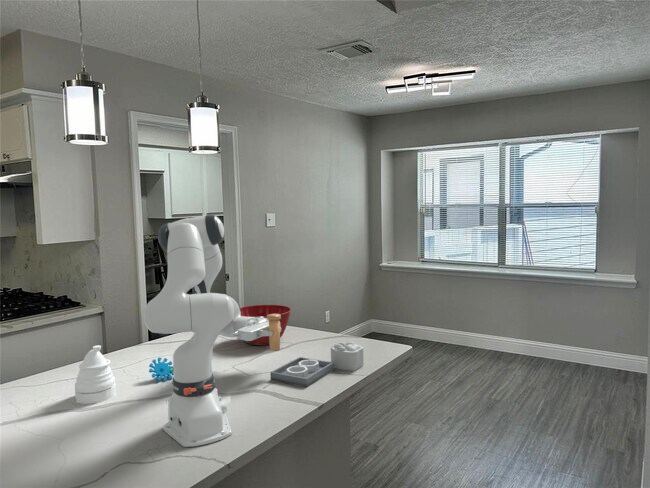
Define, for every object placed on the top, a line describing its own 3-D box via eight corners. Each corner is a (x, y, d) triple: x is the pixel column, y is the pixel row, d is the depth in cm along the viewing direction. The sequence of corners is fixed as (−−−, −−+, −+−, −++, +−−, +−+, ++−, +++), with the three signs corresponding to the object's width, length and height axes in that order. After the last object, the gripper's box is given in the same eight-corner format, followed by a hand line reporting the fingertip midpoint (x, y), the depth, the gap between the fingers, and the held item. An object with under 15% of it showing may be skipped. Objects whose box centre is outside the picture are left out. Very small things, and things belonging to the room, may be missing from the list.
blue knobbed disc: (152, 381, 176) (147, 357, 182) (147, 389, 179) (142, 366, 185) (181, 377, 184) (175, 355, 189) (175, 385, 187) (169, 363, 192)
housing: (270, 380, 179) (270, 370, 178) (299, 364, 196) (299, 355, 196) (307, 387, 171) (306, 377, 170) (334, 369, 188) (333, 361, 188)
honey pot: (124, 392, 171) (121, 342, 169) (93, 406, 159) (89, 353, 157) (98, 387, 176) (95, 339, 175) (67, 400, 164) (63, 349, 163)
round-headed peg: (284, 350, 183) (282, 315, 182) (271, 352, 180) (270, 317, 179) (278, 346, 187) (277, 313, 186) (266, 349, 185) (264, 314, 184)
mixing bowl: (238, 334, 245) (237, 304, 244) (294, 332, 245) (293, 303, 243) (226, 350, 217) (225, 317, 215) (289, 349, 216) (288, 315, 215)
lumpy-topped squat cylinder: (354, 371, 186) (353, 349, 185) (325, 366, 192) (325, 345, 192) (366, 363, 194) (365, 342, 194) (338, 359, 201) (338, 338, 201)
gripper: (229, 326, 180) (259, 330, 174) (262, 315, 198) (290, 318, 191) (230, 342, 181) (259, 347, 174) (263, 330, 199) (291, 333, 192)
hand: (276, 331), depth 183 cm, fingers closed on round-headed peg, 4 cm apart
